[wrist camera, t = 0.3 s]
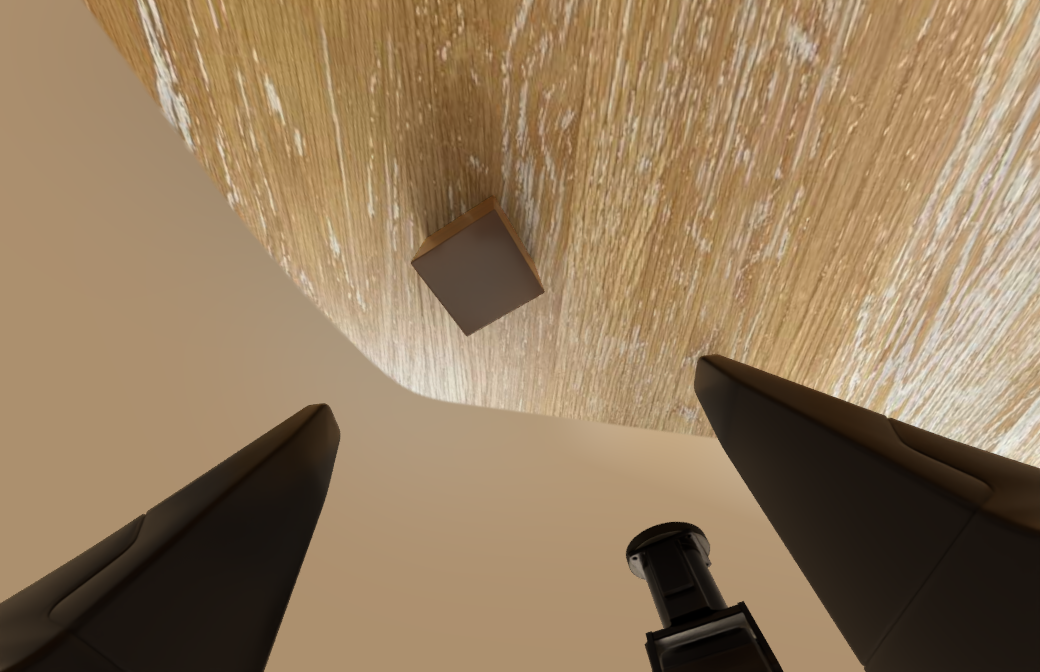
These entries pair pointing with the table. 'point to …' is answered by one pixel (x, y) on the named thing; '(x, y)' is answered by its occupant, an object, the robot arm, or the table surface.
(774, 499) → the robot arm
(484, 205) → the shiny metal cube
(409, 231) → the table surface
